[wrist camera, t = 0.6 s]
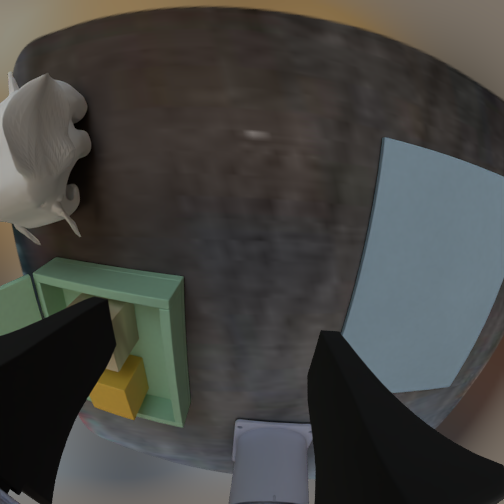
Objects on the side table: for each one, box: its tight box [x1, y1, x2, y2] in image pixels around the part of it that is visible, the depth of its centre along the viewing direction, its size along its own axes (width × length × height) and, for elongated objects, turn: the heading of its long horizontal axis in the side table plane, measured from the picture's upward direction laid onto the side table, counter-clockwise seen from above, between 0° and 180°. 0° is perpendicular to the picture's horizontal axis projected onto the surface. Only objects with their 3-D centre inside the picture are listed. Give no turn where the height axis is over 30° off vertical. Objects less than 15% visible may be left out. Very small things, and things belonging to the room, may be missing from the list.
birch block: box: [66, 293, 139, 372], centre depth 18 cm, size 4×4×4 cm
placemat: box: [341, 138, 504, 393], centre depth 18 cm, size 20×14×1 cm
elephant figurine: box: [0, 72, 91, 245], centre depth 12 cm, size 10×12×9 cm
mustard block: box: [89, 354, 149, 420], centre depth 20 cm, size 4×4×4 cm
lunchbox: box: [33, 257, 191, 428], centre depth 20 cm, size 11×13×3 cm
